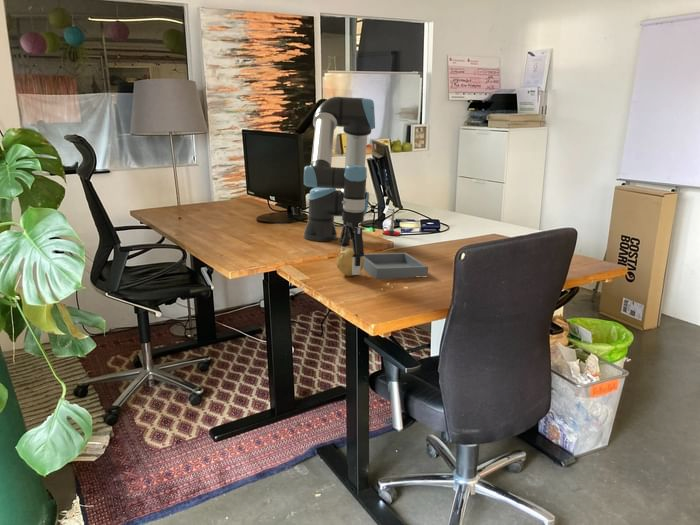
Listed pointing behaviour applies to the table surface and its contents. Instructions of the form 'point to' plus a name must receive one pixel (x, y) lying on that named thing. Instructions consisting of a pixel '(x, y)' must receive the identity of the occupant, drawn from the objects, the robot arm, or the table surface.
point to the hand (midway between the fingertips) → (349, 269)
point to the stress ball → (347, 261)
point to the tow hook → (391, 231)
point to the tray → (393, 266)
